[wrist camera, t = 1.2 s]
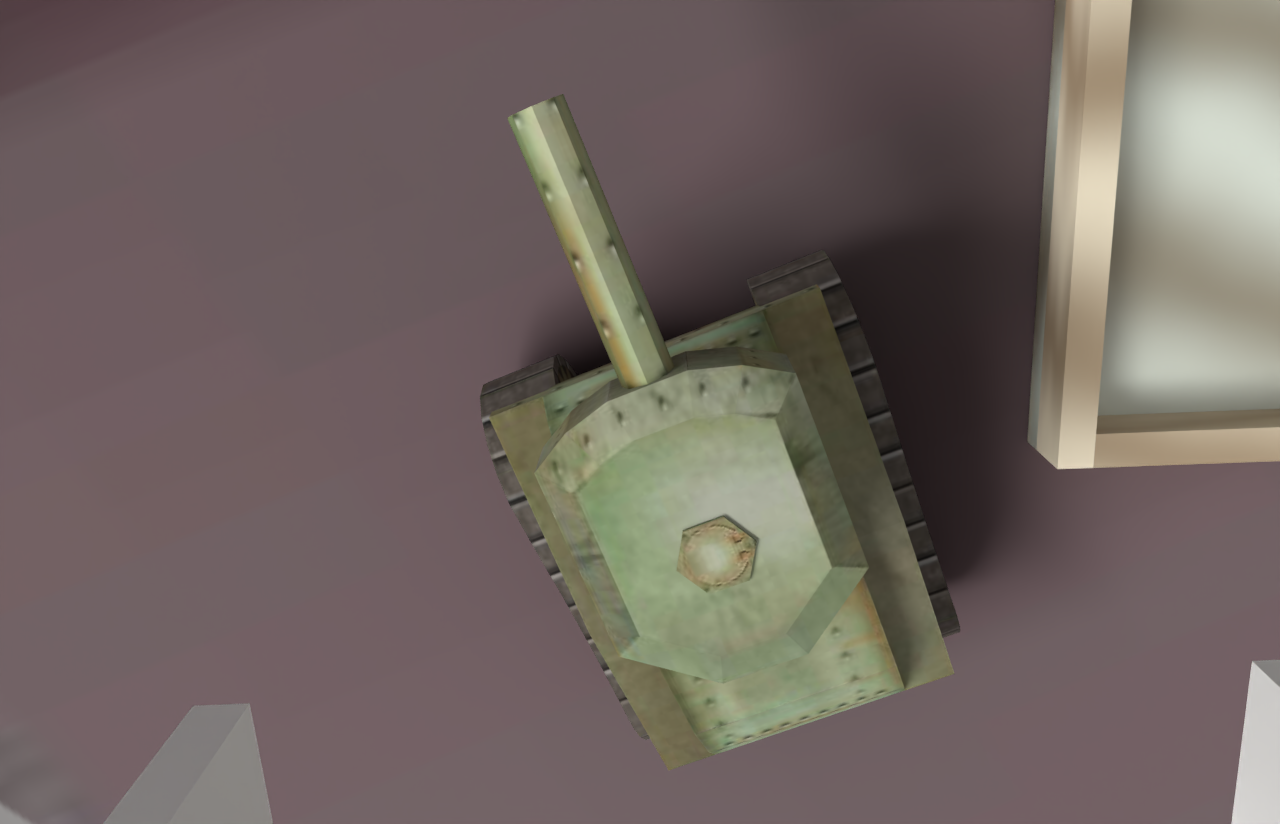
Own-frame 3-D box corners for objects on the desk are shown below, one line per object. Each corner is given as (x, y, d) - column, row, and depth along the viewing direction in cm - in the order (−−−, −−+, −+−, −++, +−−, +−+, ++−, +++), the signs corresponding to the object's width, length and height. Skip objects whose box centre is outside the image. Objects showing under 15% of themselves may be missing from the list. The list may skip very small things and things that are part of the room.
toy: (736, 34, 29) (775, -1, 19) (938, 596, 33) (1050, 794, 24) (411, 173, 30) (294, 206, 20) (650, 697, 35) (647, 923, 25)
